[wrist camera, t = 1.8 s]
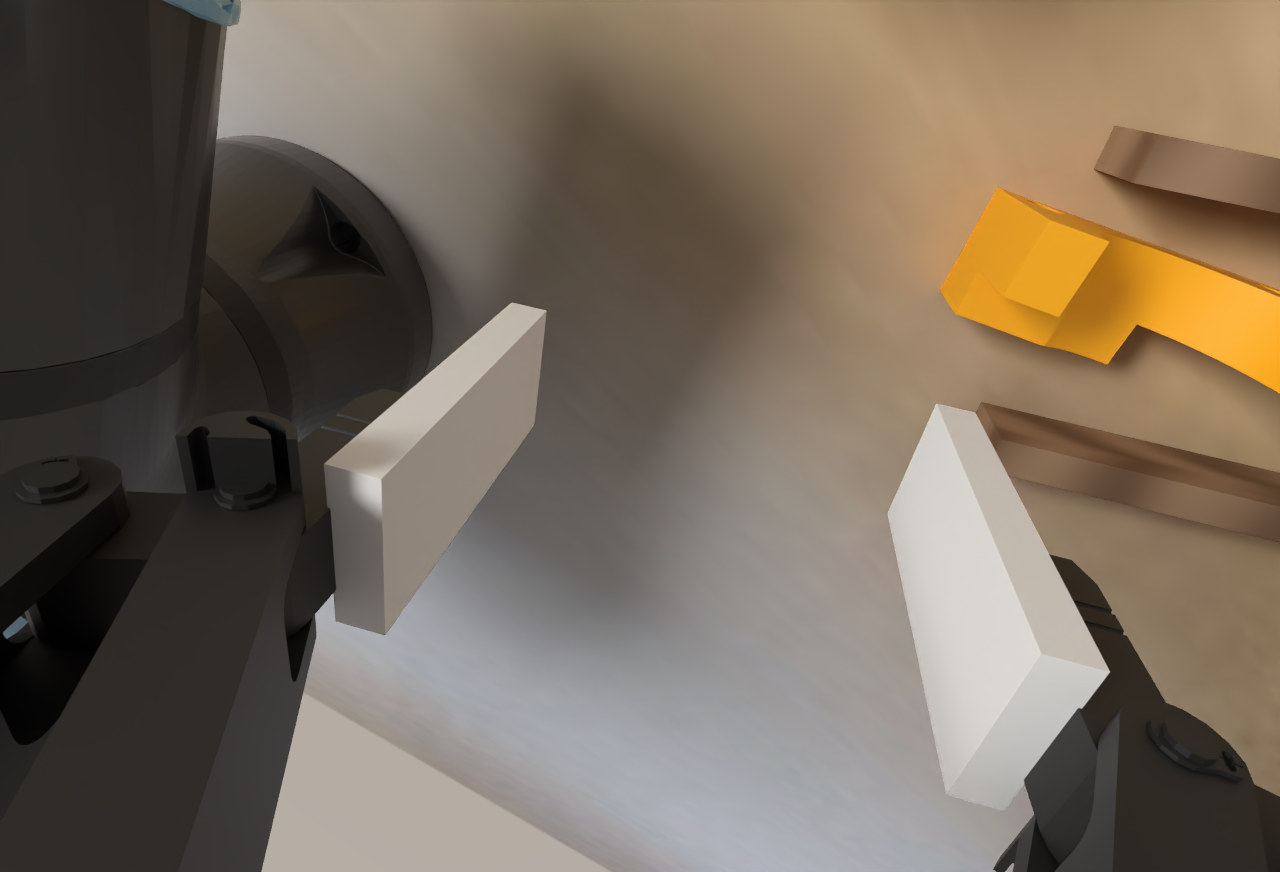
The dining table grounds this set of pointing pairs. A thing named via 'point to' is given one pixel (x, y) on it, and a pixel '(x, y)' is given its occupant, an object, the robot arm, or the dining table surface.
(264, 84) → the dining table surface
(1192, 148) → the channel
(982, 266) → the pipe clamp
